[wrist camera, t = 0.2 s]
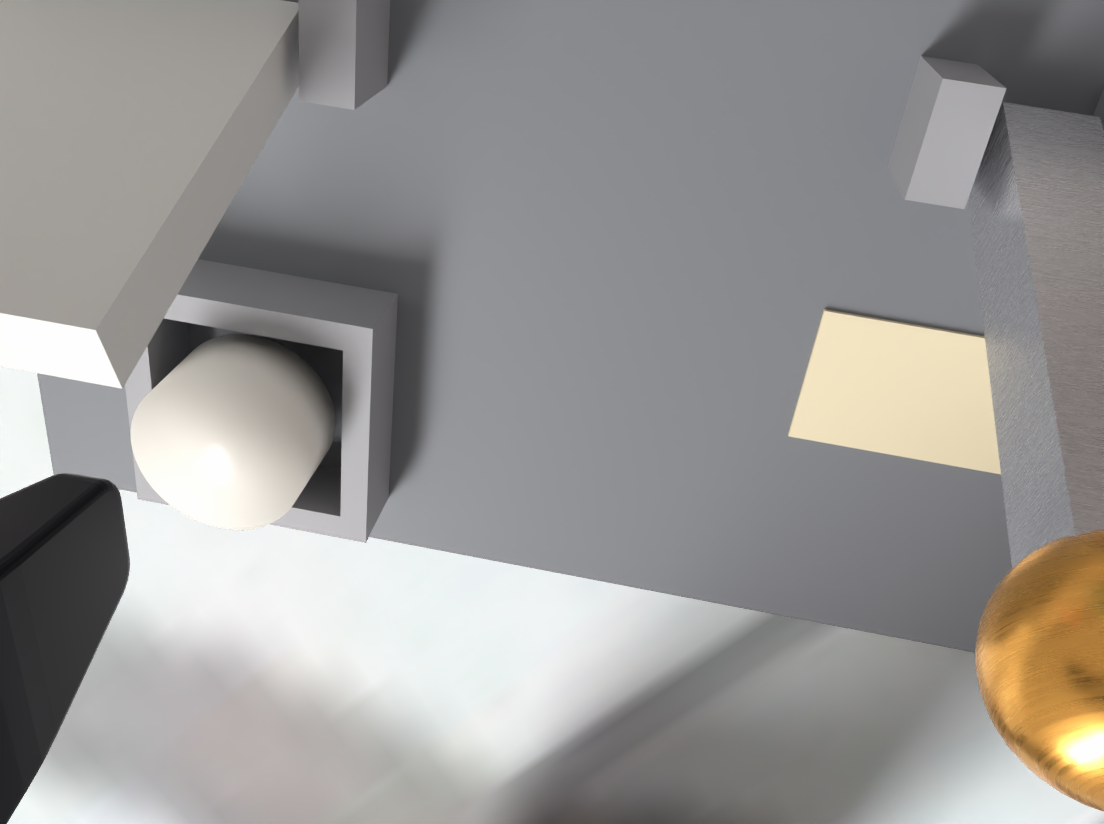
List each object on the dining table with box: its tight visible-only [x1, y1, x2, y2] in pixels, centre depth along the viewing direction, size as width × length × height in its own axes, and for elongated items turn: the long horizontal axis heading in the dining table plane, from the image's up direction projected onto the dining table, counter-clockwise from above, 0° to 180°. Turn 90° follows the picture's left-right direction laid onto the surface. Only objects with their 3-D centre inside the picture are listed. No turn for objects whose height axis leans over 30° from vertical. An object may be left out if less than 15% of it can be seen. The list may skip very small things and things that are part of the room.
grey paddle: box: [0, 0, 299, 389], centre depth 16 cm, size 1×6×8 cm, turn 83°
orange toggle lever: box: [968, 102, 1104, 811], centre depth 14 cm, size 3×3×11 cm
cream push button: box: [130, 334, 336, 530], centre depth 21 cm, size 4×4×2 cm
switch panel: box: [37, 0, 1104, 652], centre depth 20 cm, size 16×26×4 cm, turn 83°
